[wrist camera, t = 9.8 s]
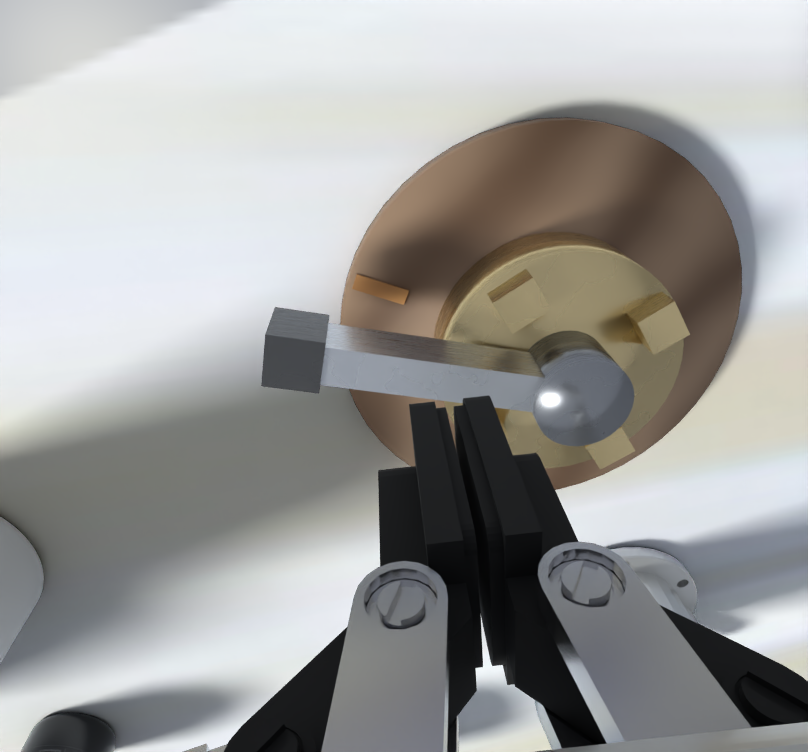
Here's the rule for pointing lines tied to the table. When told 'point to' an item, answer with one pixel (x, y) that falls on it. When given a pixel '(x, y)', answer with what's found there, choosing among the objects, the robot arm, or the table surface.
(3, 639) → the cylinder vase
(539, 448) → the grey lever
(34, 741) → the supplement bottle
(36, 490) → the table surface
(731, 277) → the lever base
